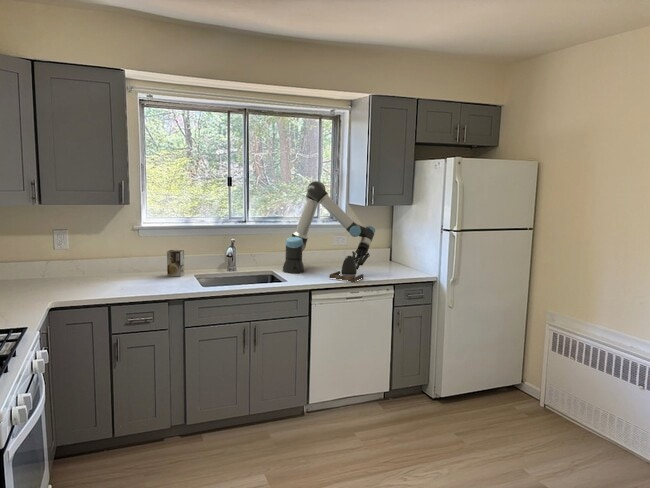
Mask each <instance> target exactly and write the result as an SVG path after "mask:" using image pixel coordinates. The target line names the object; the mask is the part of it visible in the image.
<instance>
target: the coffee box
mask: <svg viewBox="0 0 650 488" xmlns="http://www.w3.org/2000/svg"><path fill="white" fill-rule="evenodd" d="M166 262H167V263H166V269H167V273H166V276H167V277H183V276H185V250H182V249H181V250H180V249H170V250H167V251H166Z"/></svg>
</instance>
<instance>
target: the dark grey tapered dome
mask: <svg viewBox="0 0 650 488" xmlns="http://www.w3.org/2000/svg"><path fill="white" fill-rule="evenodd" d="M352 256H353V255H347V256H346V257H345V259H344V260H343V261H342V262H343V263H342V265H341V271H340V274H341V276H347V277H356V275H357V271H358V269H356V263H355V259H357V257H356V256H355V258H353V257H352Z"/></svg>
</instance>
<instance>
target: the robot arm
mask: <svg viewBox="0 0 650 488" xmlns="http://www.w3.org/2000/svg"><path fill="white" fill-rule="evenodd" d="M306 190H307V191H306V195H305V199H306V202H305V204H304V206H303V210H302V213H301V215H300V218H299V220H298V223H297V227H296V229H295V231H293V232H292V234H291V236H290V237H287V238H286V240H285V260H284V263H283V265H282V272H283V271H284V272H283V273H287V272H288V274H301V273H300V272H302V273H304V272H305V265H304V263H303V251H304V250H305V249H306V246H307V242H308V239H309V237H308V233H309V230H310V228H311V224H312V223H313V219H314V217H315V214H316V212H317V208H318V206H319V204H320V205H321V206H322V207H323V208H324V209H325V210H326V211H327V212H328V213H330V215H331V216H332V217H333V218H334V219H335V220H336V221H337V222H338V223H339V224H340V225H341V226H342V227H343V228H344V229H346V232H348V233H349V235H350V236H352V237H353V238H356V237H360V241H359V244H358V246H357V248H356V250H355V251H352V252H351V253H352V255H351V256H352V257H353V258H355V257H357V259H355V263H356V269H357V270H359V268H360V266H361V267H362V266H363V265H364V264H365V262H366V261H367V259H368V258H369V257H370V255H371V254H370V253H369V252H368V251H369V249H370V247H371V243H372V241H373V239H374V236H375V234H376V229H375V228H374V227H373V226H372V225H367V226H362V225H361V224H358V223H356V222H355V221H354V219H352V218H351V217H350V216H349V215H348V214H347V213H346V212H345V211H344V210H343V209H342V208H341V207H340V206H339V205H338V204H337V203H336V201H334V200H333V199H332V198H331V197H330V196H329V193H328V192H327V191H326V190H327V189H326V187H325V184H324V183H323V182H321V181H319V180H317V181H312V182H310V183H309V184H308V185H307V189H306Z"/></svg>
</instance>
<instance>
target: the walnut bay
mask: <svg viewBox="0 0 650 488" xmlns="http://www.w3.org/2000/svg"><path fill="white" fill-rule="evenodd" d="M339 274H340V275H339ZM328 278H336V279H342V280H348V281H353V282H352V283H356V282H355V281H357V280H359V279H361V278H363V279H364V274H360V275H357V276H355V277H347V276H342V275H341V271H335V272H333V273H329V277H328ZM359 281H360V280H359ZM357 282H358V281H357Z"/></svg>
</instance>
